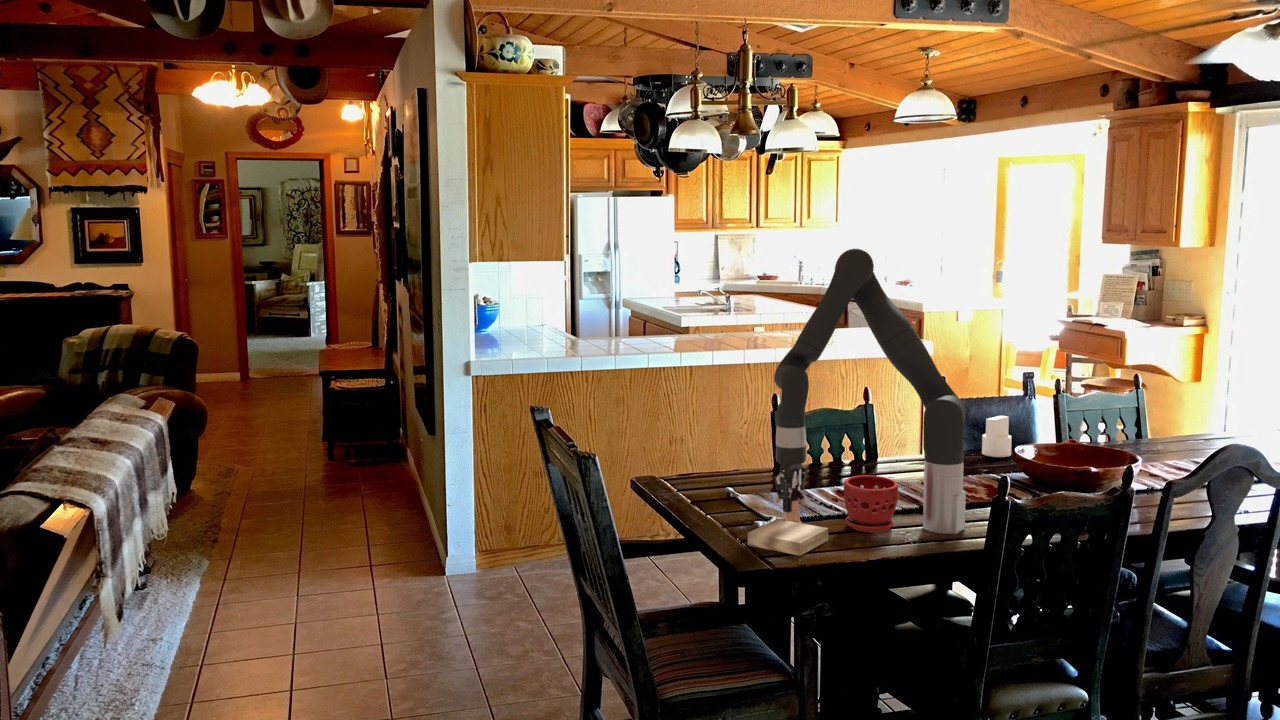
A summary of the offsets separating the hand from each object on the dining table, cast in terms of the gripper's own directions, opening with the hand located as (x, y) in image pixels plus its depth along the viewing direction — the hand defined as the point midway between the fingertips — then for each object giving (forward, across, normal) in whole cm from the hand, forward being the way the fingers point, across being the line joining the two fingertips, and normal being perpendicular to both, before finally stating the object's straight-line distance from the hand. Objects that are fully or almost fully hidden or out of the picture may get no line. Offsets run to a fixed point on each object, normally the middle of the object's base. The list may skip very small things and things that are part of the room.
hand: (790, 509), depth 259 cm
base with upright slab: (+4, +107, -17) cm, 108 cm away
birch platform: (+4, -14, -7) cm, 16 cm away
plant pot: (+4, +8, -18) cm, 20 cm away
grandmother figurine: (+4, 0, 0) cm, 4 cm away
